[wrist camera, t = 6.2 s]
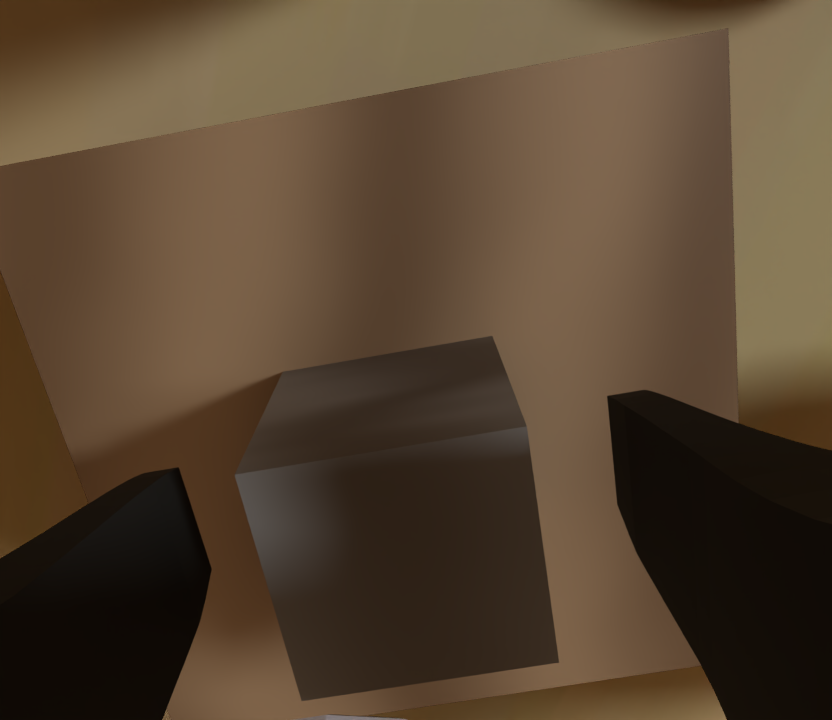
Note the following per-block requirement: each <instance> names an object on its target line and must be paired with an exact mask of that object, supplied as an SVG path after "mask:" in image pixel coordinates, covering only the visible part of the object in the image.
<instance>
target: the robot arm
mask: <svg viewBox="0 0 832 720" xmlns="http://www.w3.org/2000/svg"><path fill="white" fill-rule="evenodd" d="M607 401H608V411H609V422H610V433H611V443H612V454H613V465H614V476H615V486H616V497H617V505H618V508H619V510H620V513H621V516H622V518H623V521H624V523H625V526H626V529H627V531H628V534H629V536H630V538H631V541H632V543H633V546H634V548H635V551H636V553H637V555H638V557H639V558H640V560H641V562H642V564H643V566H644V567H645V569H646V571H647V573H648V574H649V576H650V578H651V580H652V581H653V583H654V585H655V587H656V588H657V590H658V592H659V594H660V595H661V597H662V599H663V601H664V602H665V604H666V606H667V607H668V609H669V611H670V613H671V614H672V616H673V618H674V619H675V621H676V623H677V625H678V626H679V628H680V630H681V631H682V633H683V635H684V637H685V638H686V640H687V642H688V644H689V645H690V647H691V649H692V650H693V652H694V654H695V656H696V657H697V659H698V661H699V662H700V664H701V666H702V668H703V670H704V672H705V674H706V676H707V678H708V680H709V682H710V683H711V685H712V687H713V689H714V691H715V693H716V696H717V698H718V700H719V702H720V705H721V707H722V709H723V711H724V714H725V716H726V718H727V720H832V451H831V450H826V449H822V448H818V447H813V446H810V445H806V444H802V443H799V442H795V441H791V440H788V439H785V438H782V437H779V436H775V435H772V434H769V433H766V432H763V431H759V430H756V429H753V428H750V427H748V426H745V425H742V424H739V423H736V422H733V421H731V420H728V419H725V418H723V417H720V416H717V415H715V414H712V413H709V412H707V411H704V410H702V409H699V408H696V407H694V406H691V405H689V404H686V403H684V402H681V401H679V400H676V399H673V398H671V397H668V396H665V395H662V394H659V393H656V392H653V391H649V390H639V391H633V392H627V393H621V394H615V395H609V396H607ZM211 571H212V568H211V565H210V562H209V559H208V556H207V553H206V549H205V546H204V543H203V540H202V537H201V534H200V531H199V528H198V525H197V522H196V519H195V516H194V512H193V509H192V506H191V503H190V500H189V497H188V494H187V491H186V488H185V485H184V482H183V479H182V475H181V472H180V469H179V467H177V468H171V469H165V470H159V471H153V472H147V473H143V474H140V475H138V476H136V477H133V478H131V479H129V480H127V481H126V482H124V483H122V484H120V485H118V486H117V487H115V488H113V489H112V490H110V491H108V492H107V493H105V494H103V495H102V496H100V497H99V498H97V499H95V500H94V501H92V502H91V503H89V504H87V505H86V506H84V507H83V508H81V509H80V510H78V511H76V512H75V513H73V514H72V515H70V516H69V517H67V518H66V519H64V520H62V521H61V522H59V523H58V524H56V525H55V526H53V527H51V528H50V529H48V530H47V531H45V532H44V533H42V534H40V535H39V536H37V537H35V538H34V539H32V540H30V541H29V542H27V543H25V544H24V545H22V546H20V547H19V548H17V549H15V550H14V551H12V552H11V553H9V554H7V555H6V556H4V557H2V558H1V559H0V720H162V719H163V716H164V714H165V711H166V709H167V706H168V704H169V701H170V699H171V696H172V694H173V691H174V689H175V686H176V683H177V681H178V678H179V676H180V673H181V671H182V668H183V666H184V663H185V661H186V658H187V655H188V653H189V650H190V648H191V645H192V642H193V640H194V637H195V634H196V632H197V629H198V626H199V623H200V620H201V616H202V612H203V608H204V604H205V600H206V595H207V590H208V586H209V581H210V576H211ZM294 720H407V719H403V718H391V717H373V716H355V715H338V714H328V715H321V716H315V717H308V718H301V719H294Z"/></svg>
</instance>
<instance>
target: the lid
mask: <svg viewBox="0 0 832 720" xmlns="http://www.w3.org/2000/svg"><path fill="white" fill-rule="evenodd" d="M0 271H1V274H2V276H3V279H4V281H5V284H6V287H7V289H8V292H9V295H10V297H11V300H12V302H13V305H14V308H15V310H16V313H17V316H18V318H19V321H20V324H21V326H22V329H23V331H24V334H25V337H26V339H27V342H28V345H29V347H30V350H31V352H32V355H33V358H34V360H35V363H36V366H37V368H38V371H39V374H40V376H41V379H42V381H43V384H44V387H45V389H46V392H47V395H48V397H49V400H50V402H51V405H52V408H53V410H54V413H55V416H56V418H57V421H58V424H59V426H60V429H61V431H62V434H63V437H64V439H65V442H66V445H67V447H68V450H69V452H70V455H71V458H72V460H73V463H74V466H75V468H76V471H77V474H78V476H79V479H80V481H81V484H82V487H83V489H84V492H85V495H86V497H87V500H88V502H89V503H91V502H92V501H94V500H95V499H97V498H99V497H100V496H102V495H103V494H105V493H107V492H108V491H110V490H112V489H113V488H115V487H117V486H118V485H120V484H122V483H124V482H126V481H127V480H129V479H131V478H133V477H136V476H138V475H140V474H143V473H147V472H153V471H159V470H165V469H171V468H177V467H179V469H180V472H181V475H182V479H183V482H184V485H185V488H186V491H187V494H188V497H189V500H190V503H191V506H192V509H193V512H194V516H195V519H196V522H197V525H198V528H199V531H200V534H201V537H202V540H203V543H204V546H205V549H206V553H207V556H208V559H209V562H210V565H211V568H212V571H211V576H210V581H209V586H208V590H207V595H206V600H205V604H204V608H203V612H202V616H201V620H200V623H199V626H198V629H197V632H196V634H195V637H194V640H193V642H192V645H191V648H190V650H189V653H188V655H187V658H186V661H185V663H184V666H183V668H182V671H181V673H180V676H179V678H178V681H177V683H176V686H175V689H174V691H173V694H172V696H171V699H170V701H169V704H168V706H167V710H168V713H169V716H170V718H171V720H294V719H301V718H308V717H315V716H321V715H328V714H338V715H355V716H366V715H372V714H379V713H386V712H393V711H399V710H406V709H413V708H419V707H426V706H433V705H440V704H446V703H453V702H460V701H467V700H473V699H480V698H487V697H494V696H500V695H507V694H514V693H521V692H527V691H534V690H541V689H547V688H554V687H561V686H568V685H574V684H581V683H588V682H595V681H601V680H608V679H615V678H622V677H628V676H635V675H642V674H649V673H655V672H662V671H669V670H676V669H682V668H689V667H696V666H701V664H700V662H699V661H698V659H697V657H696V656H695V654H694V652H693V650H692V649H691V647H690V645H689V644H688V642H687V640H686V638H685V637H684V635H683V633H682V631H681V630H680V628H679V626H678V625H677V623H676V621H675V619H674V618H673V616H672V614H671V613H670V611H669V609H668V607H667V606H666V604H665V602H664V601H663V599H662V597H661V595H660V594H659V592H658V590H657V588H656V587H655V585H654V583H653V581H652V580H651V578H650V576H649V574H648V573H647V571H646V569H645V567H644V566H643V564H642V562H641V560H640V558H639V557H638V555H637V553H636V551H635V548H634V546H633V543H632V541H631V538H630V536H629V534H628V531H627V529H626V526H625V523H624V521H623V518H622V516H621V513H620V510H619V508H618V505H617V497H616V486H615V476H614V465H613V454H612V443H611V433H610V422H609V411H608V401H607V396H609V395H615V394H621V393H627V392H633V391H639V390H649V391H653V392H656V393H659V394H662V395H665V396H668V397H671V398H673V399H676V400H679V401H681V402H684V403H686V404H689V405H691V406H694V407H696V408H699V409H702V410H704V411H707V412H709V413H712V414H715V415H717V416H720V417H723V418H725V419H728V420H731V421H733V422H736V423H739V415H738V378H737V340H736V302H735V265H734V227H733V189H732V152H731V114H730V76H729V39H728V28H727V29H722V30H717V31H711V32H706V33H701V34H695V35H690V36H685V37H680V38H674V39H669V40H664V41H659V42H653V43H648V44H643V45H637V46H632V47H627V48H622V49H616V50H611V51H606V52H600V53H595V54H590V55H585V56H579V57H574V58H569V59H563V60H558V61H553V62H548V63H542V64H537V65H532V66H526V67H521V68H516V69H511V70H505V71H500V72H495V73H489V74H484V75H479V76H474V77H468V78H463V79H458V80H453V81H447V82H442V83H437V84H431V85H426V86H421V87H416V88H410V89H405V90H400V91H394V92H389V93H384V94H379V95H373V96H368V97H363V98H357V99H352V100H347V101H342V102H336V103H331V104H326V105H320V106H315V107H310V108H305V109H299V110H294V111H289V112H283V113H278V114H273V115H268V116H262V117H257V118H252V119H247V120H241V121H236V122H231V123H225V124H220V125H215V126H210V127H204V128H199V129H194V130H188V131H183V132H178V133H173V134H167V135H162V136H157V137H151V138H146V139H141V140H136V141H130V142H125V143H120V144H114V145H109V146H104V147H99V148H93V149H88V150H83V151H78V152H72V153H67V154H62V155H56V156H51V157H46V158H41V159H35V160H30V161H25V162H19V163H14V164H9V165H4V166H0Z"/></svg>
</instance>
